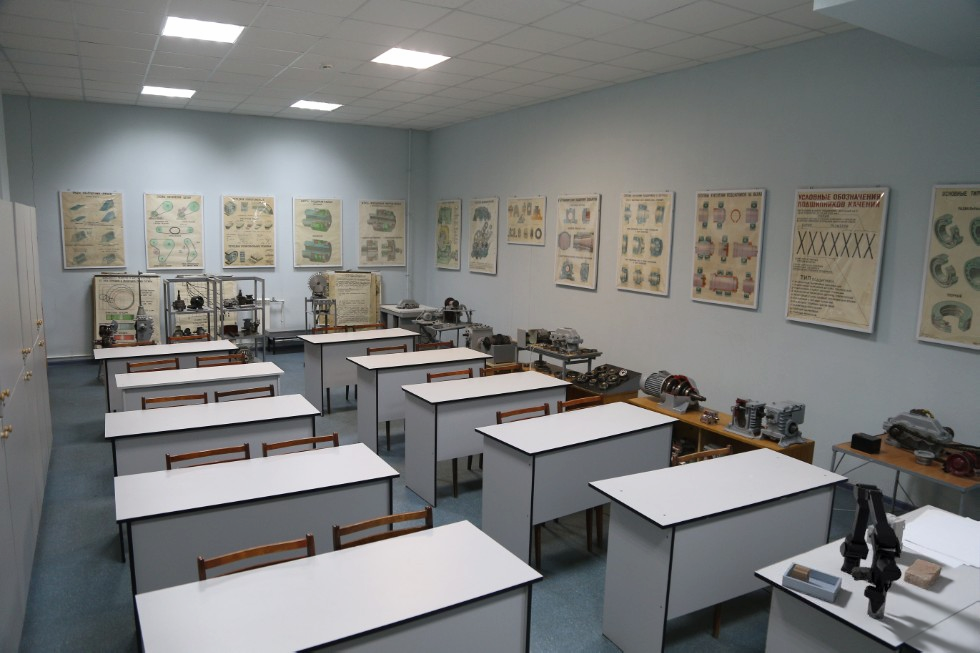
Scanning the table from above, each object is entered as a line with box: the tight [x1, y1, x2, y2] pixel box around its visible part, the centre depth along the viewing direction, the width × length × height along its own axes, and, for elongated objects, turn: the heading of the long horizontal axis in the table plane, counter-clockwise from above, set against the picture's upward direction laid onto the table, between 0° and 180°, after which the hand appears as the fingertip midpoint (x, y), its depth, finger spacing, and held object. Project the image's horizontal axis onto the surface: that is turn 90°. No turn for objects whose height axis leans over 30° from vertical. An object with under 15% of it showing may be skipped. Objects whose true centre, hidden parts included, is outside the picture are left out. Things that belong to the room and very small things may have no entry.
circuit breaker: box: [866, 512, 906, 554], centre depth 270 cm, size 8×14×15 cm, turn 115°
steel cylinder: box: [866, 599, 887, 621], centre depth 225 cm, size 5×5×7 cm
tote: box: [781, 562, 843, 604], centre depth 243 cm, size 14×18×4 cm
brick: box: [903, 558, 942, 590], centre depth 250 cm, size 16×8×5 cm, turn 130°
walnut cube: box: [792, 565, 810, 583], centre depth 245 cm, size 5×5×5 cm
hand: (876, 607), depth 225 cm, fingers open, 9 cm apart
